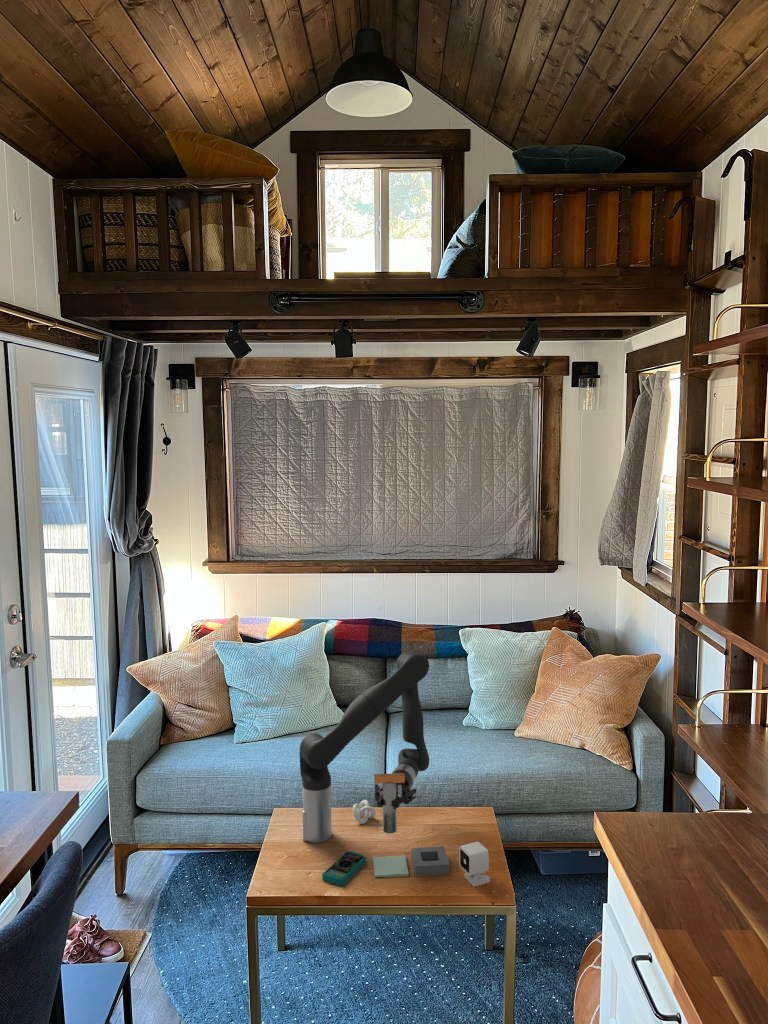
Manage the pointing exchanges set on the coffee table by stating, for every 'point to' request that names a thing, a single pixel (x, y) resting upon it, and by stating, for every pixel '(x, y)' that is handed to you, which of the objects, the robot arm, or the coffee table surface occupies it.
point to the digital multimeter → (344, 868)
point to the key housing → (429, 861)
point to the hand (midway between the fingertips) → (387, 805)
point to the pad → (390, 866)
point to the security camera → (474, 863)
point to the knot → (363, 811)
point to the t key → (389, 798)
